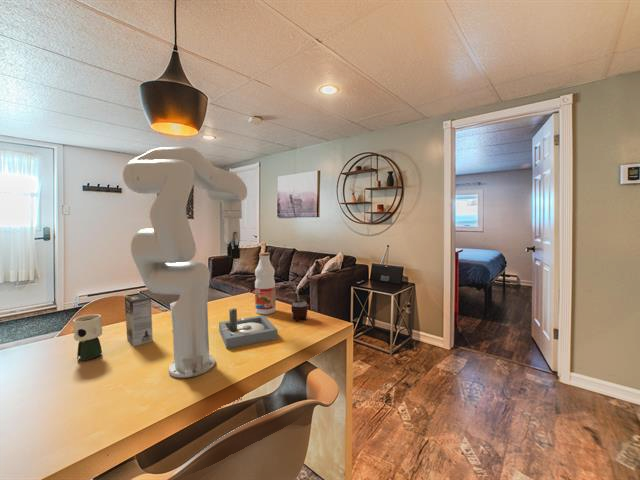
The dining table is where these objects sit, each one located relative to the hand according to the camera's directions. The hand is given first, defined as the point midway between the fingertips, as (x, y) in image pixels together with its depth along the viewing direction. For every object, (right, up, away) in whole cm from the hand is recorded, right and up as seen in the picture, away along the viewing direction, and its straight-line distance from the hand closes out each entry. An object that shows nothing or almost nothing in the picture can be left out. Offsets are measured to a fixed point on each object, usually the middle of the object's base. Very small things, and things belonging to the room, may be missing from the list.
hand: (233, 257), depth 120 cm
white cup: (-21, -29, 0) cm, 36 cm away
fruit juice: (+10, -27, +19) cm, 34 cm away
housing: (+8, -29, -9) cm, 31 cm away
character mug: (-38, -31, -26) cm, 56 cm away
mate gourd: (+26, -28, +8) cm, 39 cm away
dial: (+8, -28, -9) cm, 30 cm away
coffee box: (-30, -30, -13) cm, 44 cm away
